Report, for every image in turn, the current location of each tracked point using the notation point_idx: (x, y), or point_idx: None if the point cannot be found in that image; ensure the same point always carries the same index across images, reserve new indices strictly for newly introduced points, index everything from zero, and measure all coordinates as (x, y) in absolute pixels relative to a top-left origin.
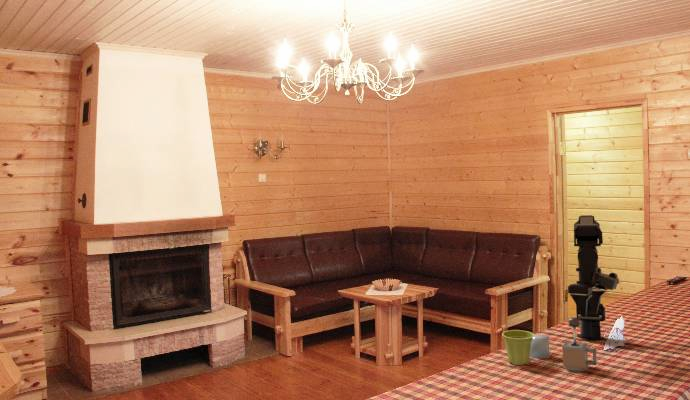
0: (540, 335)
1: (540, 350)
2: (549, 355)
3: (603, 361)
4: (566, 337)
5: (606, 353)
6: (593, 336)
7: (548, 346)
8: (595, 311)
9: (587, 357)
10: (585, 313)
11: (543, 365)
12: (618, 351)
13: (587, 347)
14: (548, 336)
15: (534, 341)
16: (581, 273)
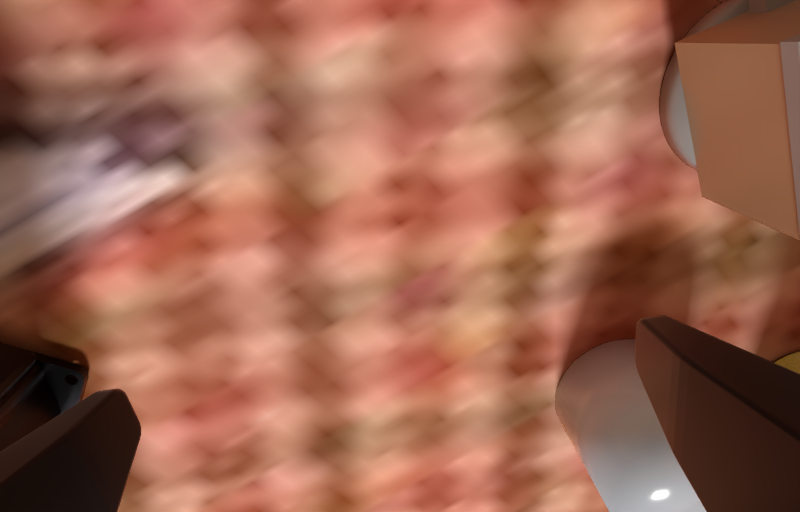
0: (643, 504)
1: None
2: (604, 349)
3: (474, 12)
4: (141, 499)
5: (261, 107)
6: (27, 368)
7: None
8: (113, 422)
9: (737, 28)
10: (718, 340)
11: (788, 273)
12: (129, 59)
13: (781, 38)
14: (637, 456)
15: None
16: None
